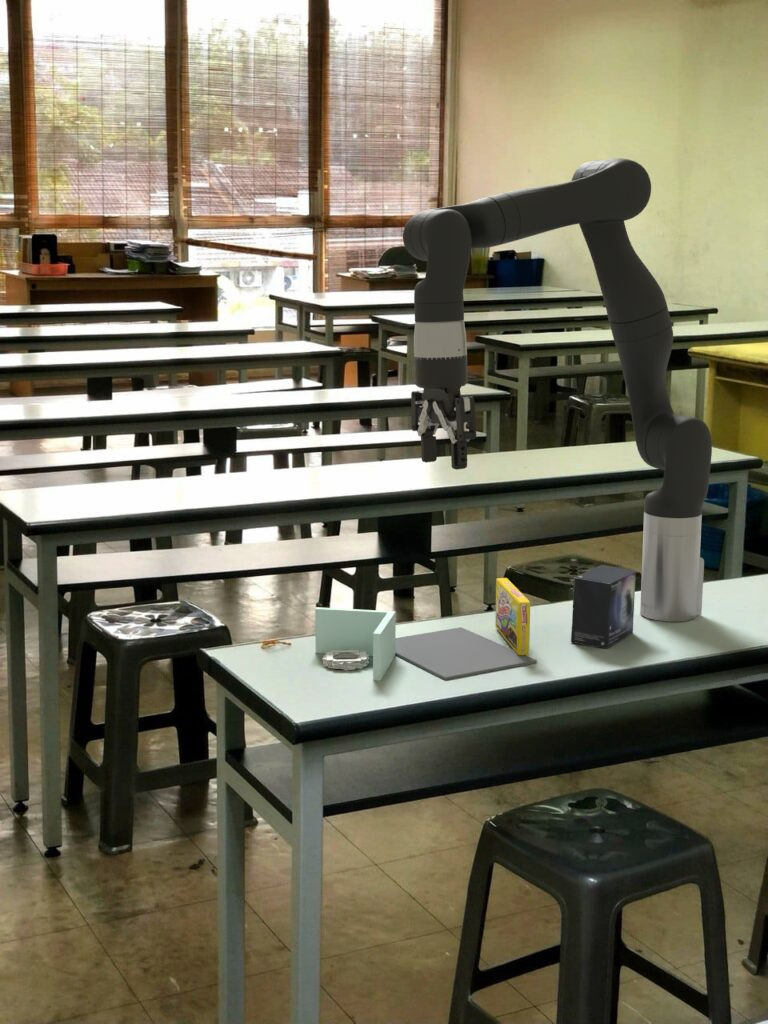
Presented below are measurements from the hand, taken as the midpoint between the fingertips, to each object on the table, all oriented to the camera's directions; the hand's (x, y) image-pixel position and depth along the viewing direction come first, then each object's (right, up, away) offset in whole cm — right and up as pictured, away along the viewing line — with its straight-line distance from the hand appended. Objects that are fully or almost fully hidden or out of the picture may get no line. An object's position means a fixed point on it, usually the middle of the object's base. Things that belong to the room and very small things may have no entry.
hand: (444, 465), depth 192 cm
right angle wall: (-14, -30, +1) cm, 33 cm away
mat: (+2, -28, +6) cm, 29 cm away
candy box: (+11, -27, +11) cm, 31 cm away
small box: (+25, -27, +14) cm, 39 cm away
